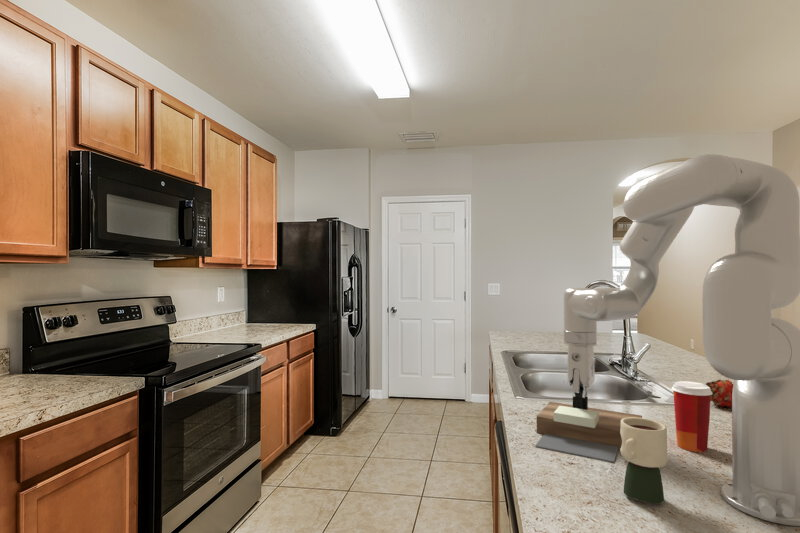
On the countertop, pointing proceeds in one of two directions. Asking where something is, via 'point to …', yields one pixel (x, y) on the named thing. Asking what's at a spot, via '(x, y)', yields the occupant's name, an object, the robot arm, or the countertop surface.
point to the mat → (578, 447)
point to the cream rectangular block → (576, 416)
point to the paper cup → (692, 415)
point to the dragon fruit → (721, 393)
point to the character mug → (644, 458)
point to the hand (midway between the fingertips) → (580, 412)
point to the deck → (602, 433)
